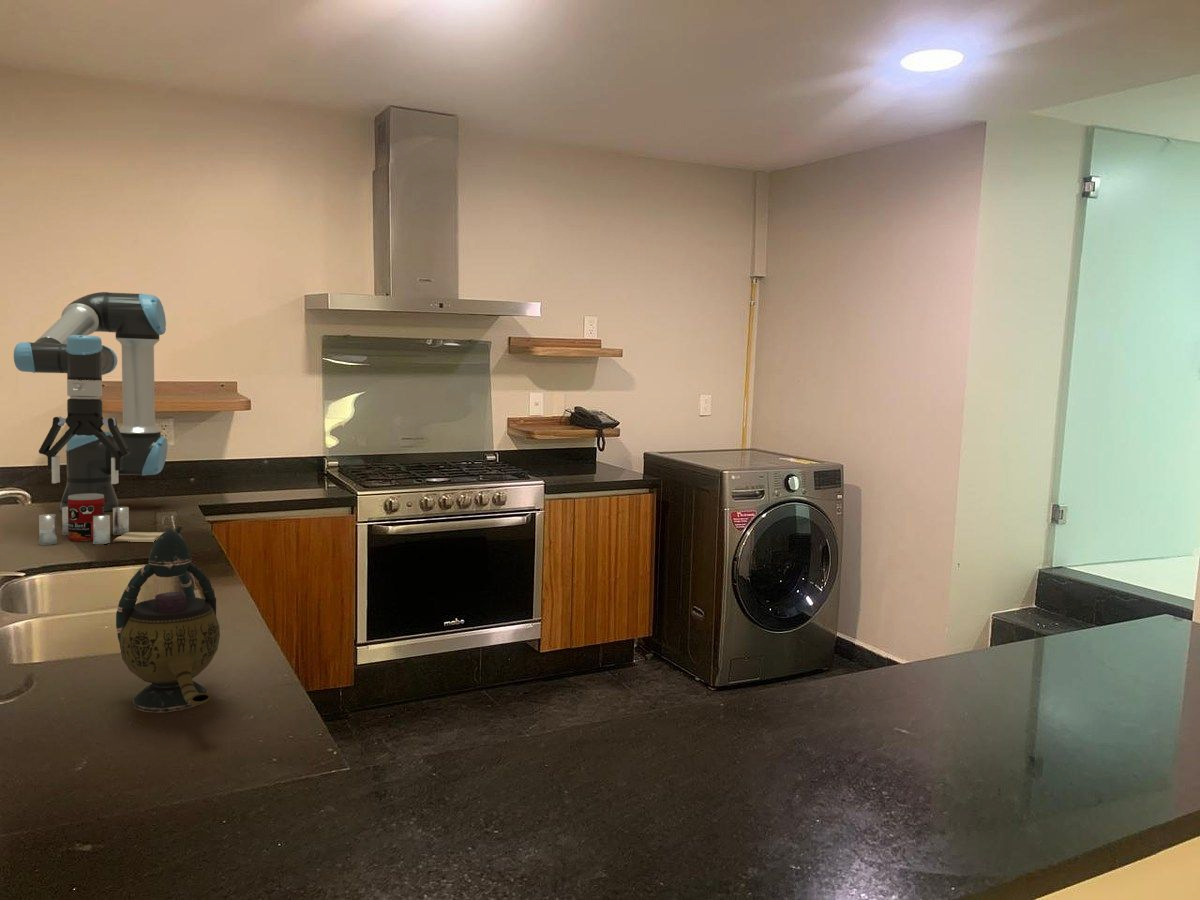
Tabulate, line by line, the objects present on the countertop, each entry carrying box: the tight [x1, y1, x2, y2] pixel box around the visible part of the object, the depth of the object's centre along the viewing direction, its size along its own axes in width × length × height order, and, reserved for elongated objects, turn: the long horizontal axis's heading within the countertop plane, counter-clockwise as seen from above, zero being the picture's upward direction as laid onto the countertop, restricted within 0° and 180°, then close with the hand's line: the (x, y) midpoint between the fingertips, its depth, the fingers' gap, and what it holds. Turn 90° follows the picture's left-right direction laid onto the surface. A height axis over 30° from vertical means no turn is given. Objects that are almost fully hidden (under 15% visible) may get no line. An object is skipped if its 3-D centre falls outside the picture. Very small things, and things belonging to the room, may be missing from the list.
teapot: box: [115, 526, 221, 713], centre depth 115 cm, size 12×25×23 cm, turn 37°
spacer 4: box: [112, 506, 130, 535], centre depth 230 cm, size 4×4×7 cm
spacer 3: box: [92, 514, 111, 544], centre depth 217 cm, size 4×4×7 cm
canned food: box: [67, 493, 105, 542], centre depth 223 cm, size 8×8×11 cm
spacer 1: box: [38, 513, 58, 546], centre depth 215 cm, size 4×4×7 cm
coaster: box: [113, 531, 165, 543], centre depth 225 cm, size 10×9×1 cm
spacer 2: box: [61, 506, 68, 536], centre depth 228 cm, size 4×4×7 cm
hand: (85, 483), depth 222 cm, fingers open, 13 cm apart
